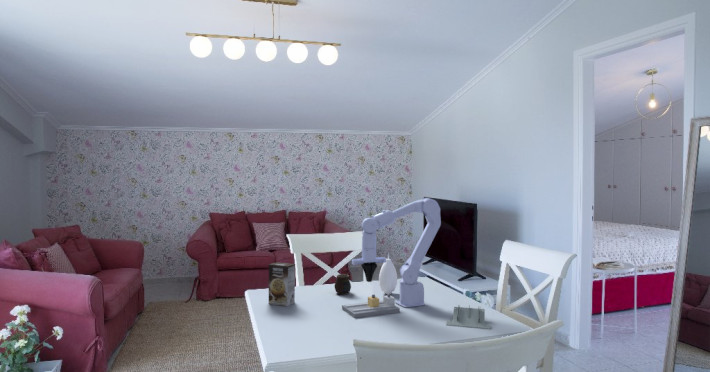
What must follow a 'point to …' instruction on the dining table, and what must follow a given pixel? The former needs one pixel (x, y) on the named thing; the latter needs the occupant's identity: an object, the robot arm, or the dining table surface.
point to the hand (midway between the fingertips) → (368, 281)
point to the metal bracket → (468, 318)
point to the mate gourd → (342, 284)
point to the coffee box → (281, 283)
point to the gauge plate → (372, 308)
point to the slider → (373, 301)
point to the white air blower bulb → (388, 277)
